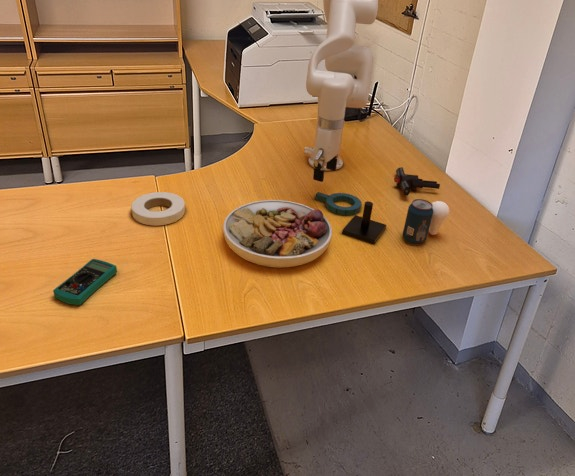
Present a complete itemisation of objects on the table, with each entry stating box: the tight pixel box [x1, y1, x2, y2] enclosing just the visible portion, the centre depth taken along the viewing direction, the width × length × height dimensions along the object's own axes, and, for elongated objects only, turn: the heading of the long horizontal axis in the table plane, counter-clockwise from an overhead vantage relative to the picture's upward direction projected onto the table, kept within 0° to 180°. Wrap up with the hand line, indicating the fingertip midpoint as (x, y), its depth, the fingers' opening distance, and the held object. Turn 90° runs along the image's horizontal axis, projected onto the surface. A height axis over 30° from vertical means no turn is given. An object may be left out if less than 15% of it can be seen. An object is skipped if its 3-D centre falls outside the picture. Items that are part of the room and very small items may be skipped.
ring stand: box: [341, 200, 387, 245], centre depth 151 cm, size 10×10×10 cm
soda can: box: [402, 198, 433, 246], centre depth 148 cm, size 7×7×12 cm
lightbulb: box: [428, 200, 450, 236], centre depth 151 cm, size 6×6×11 cm
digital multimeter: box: [52, 258, 118, 306], centre depth 124 cm, size 7×15×3 cm, turn 159°
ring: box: [314, 191, 362, 217], centre depth 165 cm, size 15×11×2 cm
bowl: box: [222, 199, 333, 268], centre depth 144 cm, size 30×30×8 cm
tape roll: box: [131, 191, 186, 227], centre depth 154 cm, size 16×15×3 cm
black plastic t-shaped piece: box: [393, 166, 441, 197], centre depth 177 cm, size 5×20×15 cm
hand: (324, 174), depth 162 cm, fingers open, 9 cm apart
